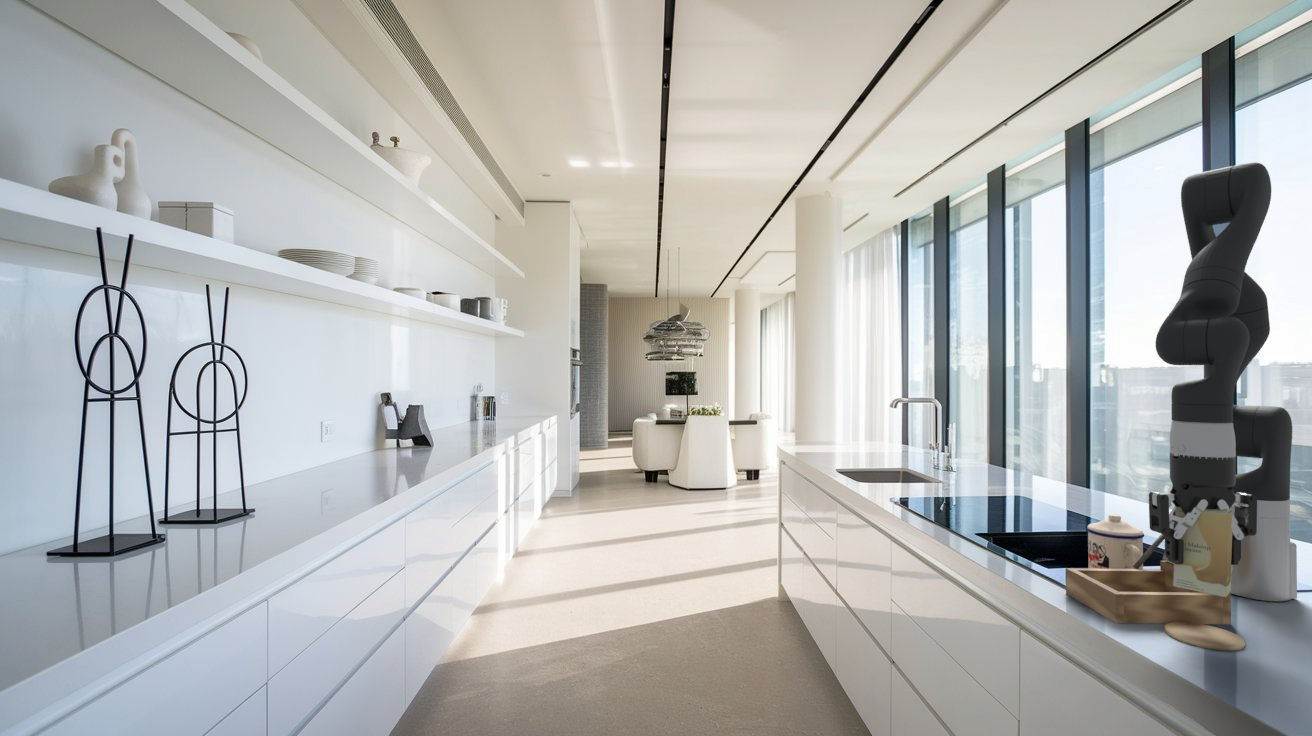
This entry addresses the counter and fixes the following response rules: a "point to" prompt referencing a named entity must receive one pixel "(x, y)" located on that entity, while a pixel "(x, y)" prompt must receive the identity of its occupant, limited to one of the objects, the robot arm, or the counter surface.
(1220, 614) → the cold frame
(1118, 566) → the teacup with lid
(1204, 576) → the skincare box
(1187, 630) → the cork mat
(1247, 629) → the counter surface
